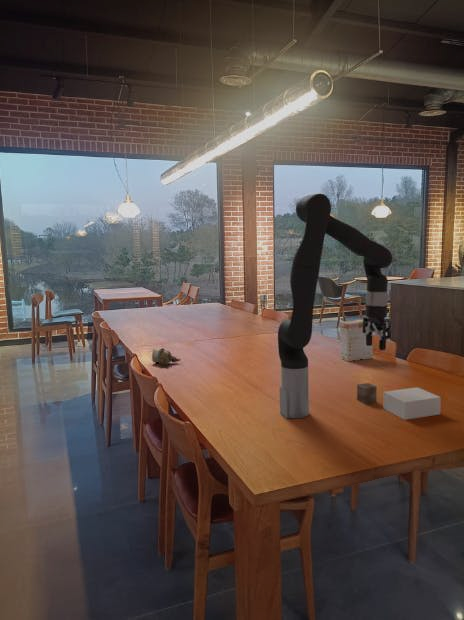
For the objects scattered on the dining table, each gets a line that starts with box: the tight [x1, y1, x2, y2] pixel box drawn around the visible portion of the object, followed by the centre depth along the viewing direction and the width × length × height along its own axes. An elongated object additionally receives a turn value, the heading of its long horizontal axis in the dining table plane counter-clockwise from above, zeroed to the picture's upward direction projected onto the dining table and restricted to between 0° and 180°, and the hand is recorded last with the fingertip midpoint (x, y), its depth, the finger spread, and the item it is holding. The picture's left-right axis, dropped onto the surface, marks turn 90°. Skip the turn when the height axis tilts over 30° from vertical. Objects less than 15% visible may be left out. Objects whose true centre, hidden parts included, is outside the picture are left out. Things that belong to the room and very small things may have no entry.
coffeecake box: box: [339, 318, 374, 362], centre depth 237 cm, size 15×7×20 cm, turn 108°
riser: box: [382, 386, 442, 421], centre depth 161 cm, size 14×12×6 cm
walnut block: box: [356, 382, 378, 405], centre depth 173 cm, size 5×5×6 cm
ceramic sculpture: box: [151, 348, 181, 366], centre depth 240 cm, size 11×9×15 cm
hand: (375, 347), depth 171 cm, fingers open, 8 cm apart
